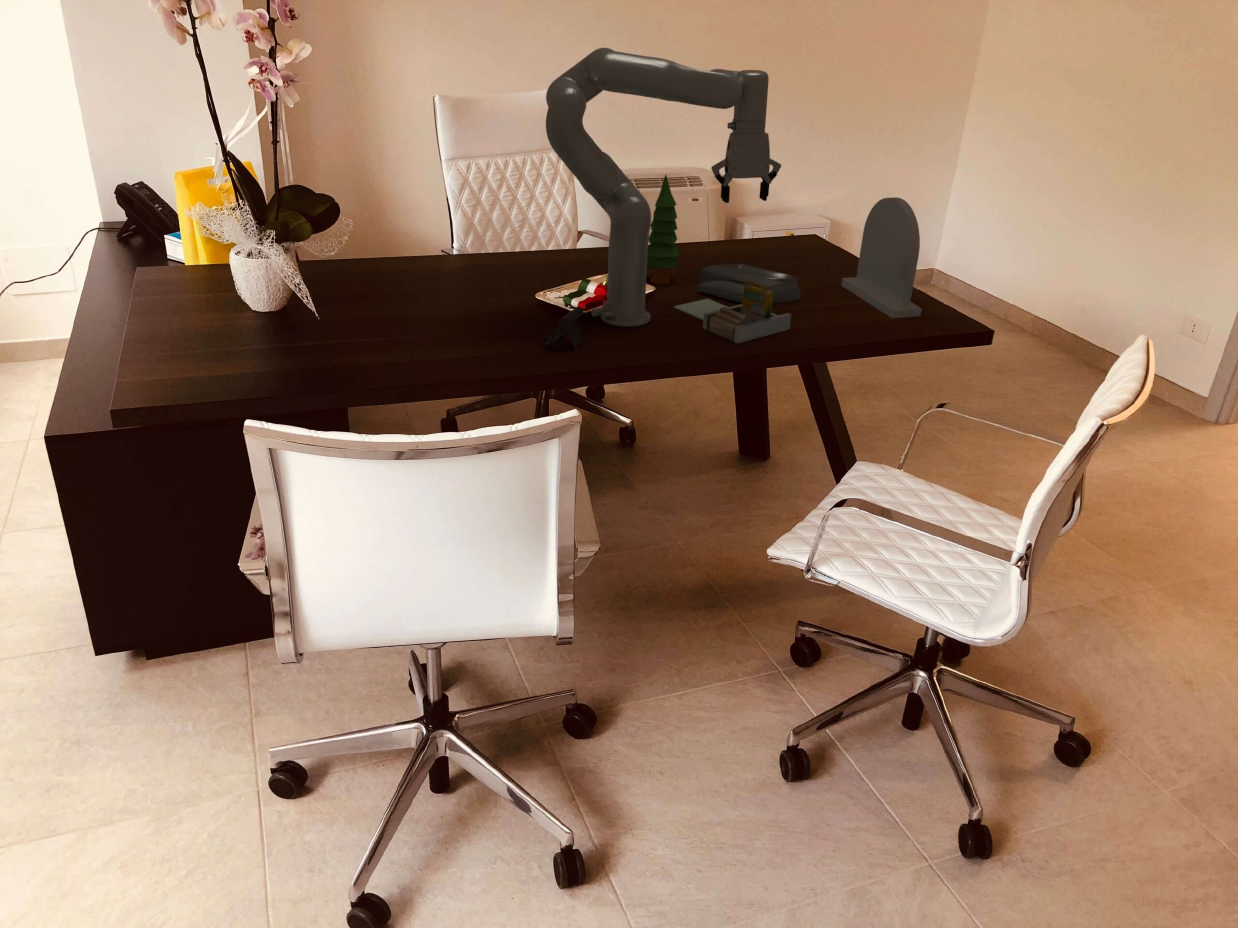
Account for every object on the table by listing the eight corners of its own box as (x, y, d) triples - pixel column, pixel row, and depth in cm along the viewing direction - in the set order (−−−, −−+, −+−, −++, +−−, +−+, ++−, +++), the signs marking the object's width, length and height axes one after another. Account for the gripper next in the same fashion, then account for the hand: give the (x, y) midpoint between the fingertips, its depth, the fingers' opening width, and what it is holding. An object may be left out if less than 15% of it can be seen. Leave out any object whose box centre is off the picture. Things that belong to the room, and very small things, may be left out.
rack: (737, 343, 231) (738, 328, 230) (702, 328, 240) (703, 313, 238) (789, 329, 241) (791, 314, 239) (754, 315, 250) (755, 300, 248)
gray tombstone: (922, 316, 254) (942, 211, 241) (892, 318, 252) (911, 212, 239) (868, 284, 278) (884, 186, 265) (841, 286, 275) (855, 187, 262)
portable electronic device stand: (557, 336, 232) (557, 302, 228) (587, 341, 230) (588, 307, 226) (541, 348, 225) (541, 314, 221) (572, 353, 222) (572, 319, 218)
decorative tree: (648, 286, 268) (654, 176, 254) (638, 276, 276) (643, 169, 262) (681, 285, 271) (689, 175, 257) (671, 275, 279) (677, 168, 265)
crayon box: (770, 329, 241) (775, 284, 236) (762, 332, 239) (767, 287, 234) (747, 321, 246) (751, 277, 240) (739, 324, 244) (744, 279, 238)
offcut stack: (731, 341, 233) (733, 319, 231) (709, 331, 239) (711, 310, 236) (745, 337, 236) (747, 316, 233) (722, 328, 241) (724, 307, 239)
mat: (704, 321, 245) (704, 319, 245) (673, 307, 253) (673, 306, 253) (738, 312, 251) (738, 311, 251) (707, 300, 260) (707, 298, 260)
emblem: (697, 285, 254) (699, 256, 279) (695, 305, 257) (698, 274, 281) (804, 292, 252) (797, 262, 277) (801, 312, 255) (795, 280, 279)
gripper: (719, 131, 222) (715, 206, 230) (789, 128, 225) (783, 202, 233) (708, 126, 228) (705, 199, 236) (777, 123, 232) (771, 195, 240)
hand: (744, 200), depth 235 cm, fingers open, 9 cm apart
